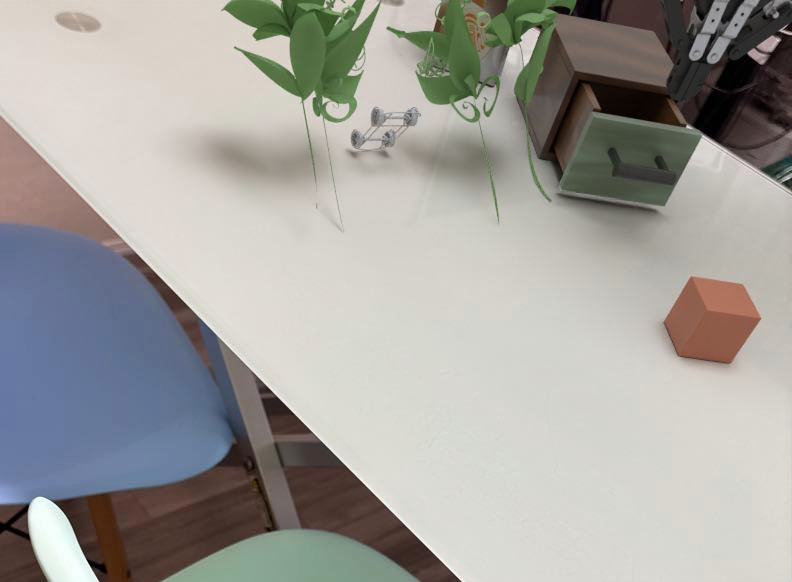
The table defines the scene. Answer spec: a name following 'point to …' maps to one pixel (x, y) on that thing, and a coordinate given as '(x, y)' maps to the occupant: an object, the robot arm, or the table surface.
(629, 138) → the drawer
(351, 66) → the plant cuttings
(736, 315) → the block
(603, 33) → the cabinet
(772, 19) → the robot arm
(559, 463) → the table surface
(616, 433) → the table surface
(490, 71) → the coffee box
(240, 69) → the table surface
